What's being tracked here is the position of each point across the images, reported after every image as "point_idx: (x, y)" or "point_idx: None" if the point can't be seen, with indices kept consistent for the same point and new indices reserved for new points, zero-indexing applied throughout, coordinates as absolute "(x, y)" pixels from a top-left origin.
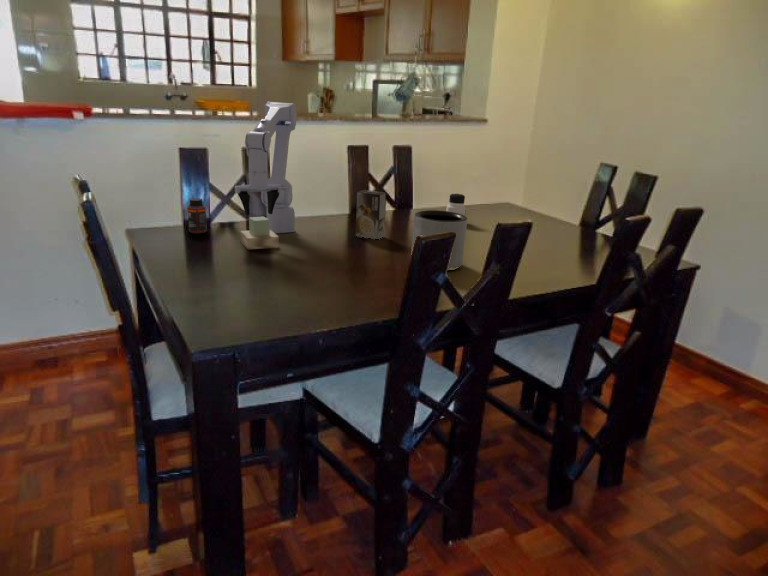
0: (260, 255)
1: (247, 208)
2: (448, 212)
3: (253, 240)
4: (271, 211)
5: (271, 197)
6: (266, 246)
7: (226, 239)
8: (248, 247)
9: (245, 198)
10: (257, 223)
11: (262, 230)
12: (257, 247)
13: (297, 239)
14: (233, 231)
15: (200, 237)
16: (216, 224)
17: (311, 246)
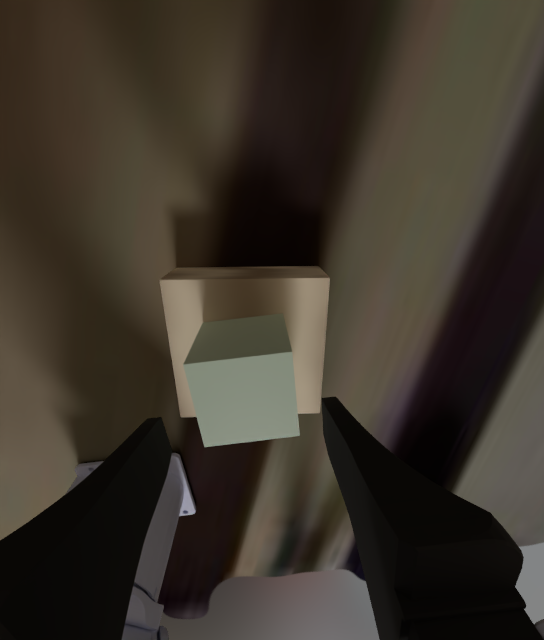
0: (289, 145)
1: (355, 427)
2: None
3: (296, 275)
4: (145, 428)
5: (75, 556)
6: (232, 269)
7: (352, 415)
8: (315, 267)
9: (440, 501)
10: (268, 345)
11: (238, 328)
12: (274, 268)
13: (76, 372)
14: (300, 495)
15: (426, 448)
16: (328, 561)
17: (11, 250)
